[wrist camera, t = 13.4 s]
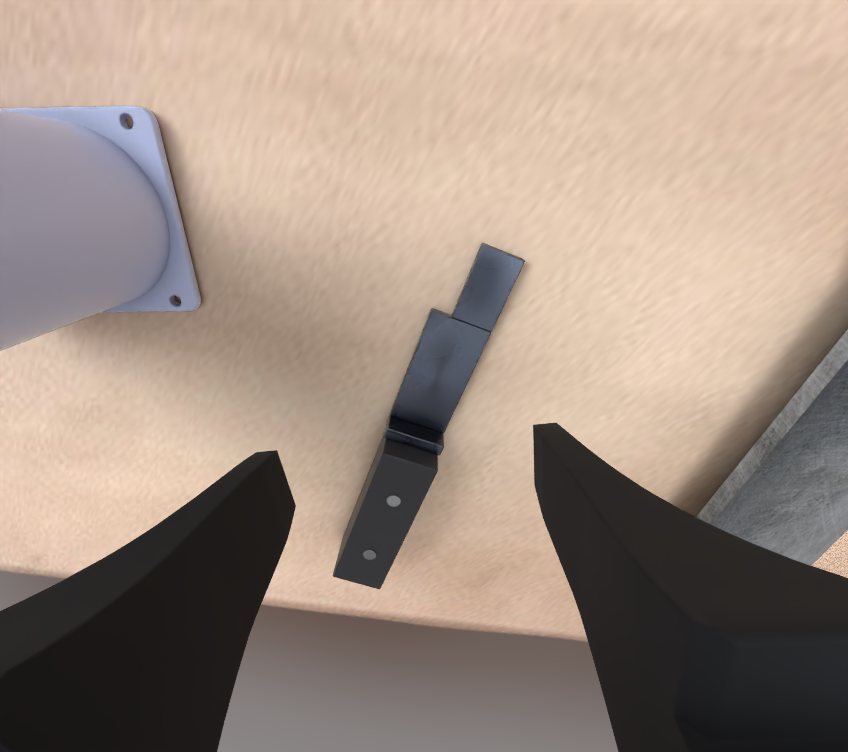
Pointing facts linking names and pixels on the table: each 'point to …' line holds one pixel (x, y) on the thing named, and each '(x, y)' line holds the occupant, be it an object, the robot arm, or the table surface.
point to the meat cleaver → (794, 471)
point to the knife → (423, 419)
